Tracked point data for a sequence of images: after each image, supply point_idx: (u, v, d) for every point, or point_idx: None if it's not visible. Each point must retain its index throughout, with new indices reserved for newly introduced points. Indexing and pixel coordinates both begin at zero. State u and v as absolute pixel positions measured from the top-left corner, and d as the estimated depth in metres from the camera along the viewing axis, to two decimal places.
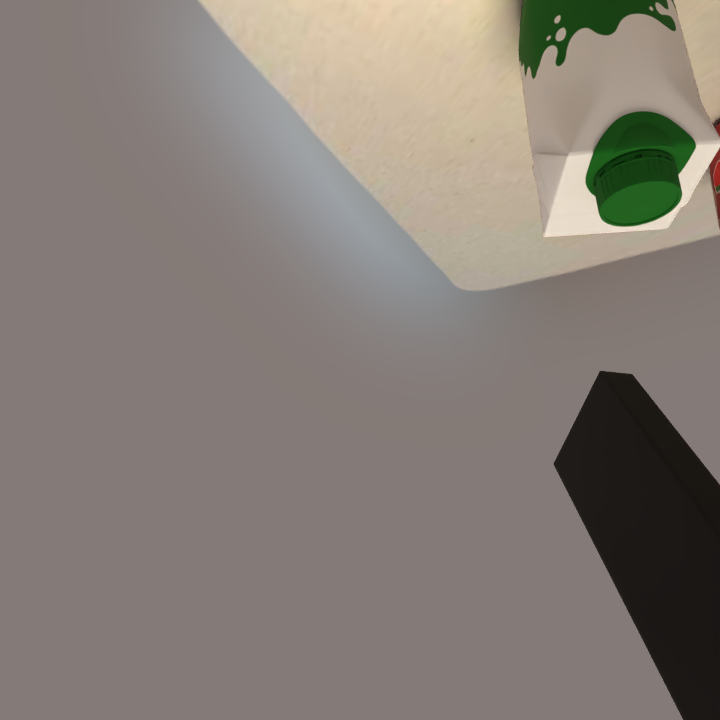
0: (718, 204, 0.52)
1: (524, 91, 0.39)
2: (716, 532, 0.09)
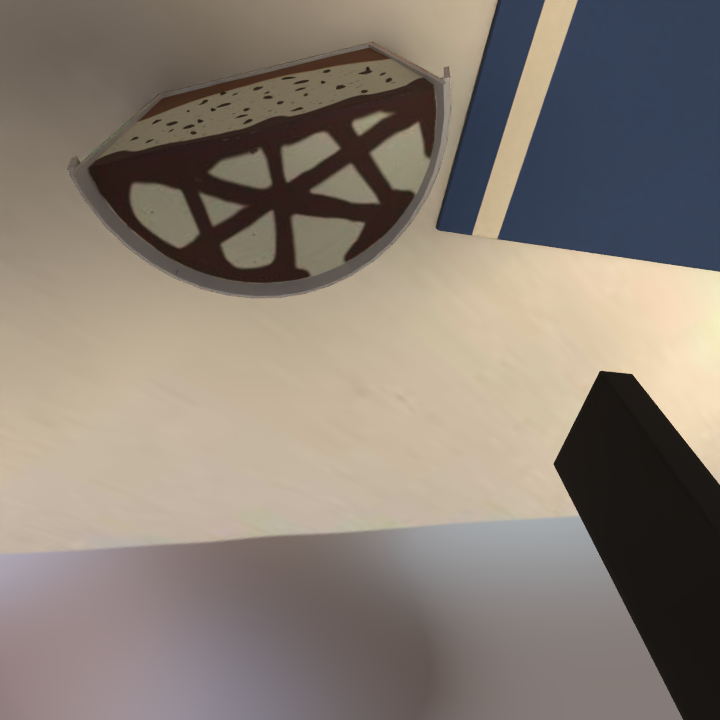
0: None
1: None
2: (716, 532, 0.09)
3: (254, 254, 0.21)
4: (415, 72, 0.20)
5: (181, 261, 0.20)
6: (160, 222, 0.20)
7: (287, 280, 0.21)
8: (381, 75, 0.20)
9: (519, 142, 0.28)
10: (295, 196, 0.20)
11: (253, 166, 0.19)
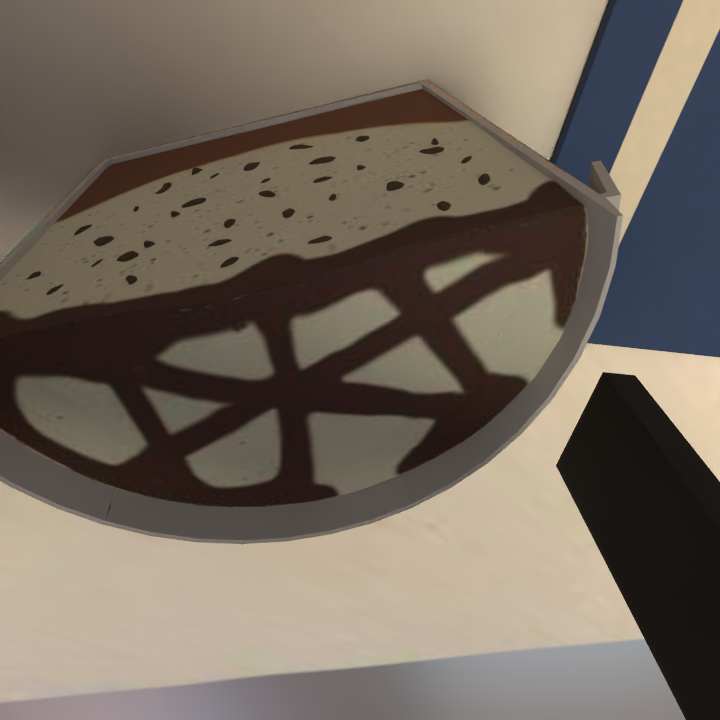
0: None
1: None
2: None
3: (244, 469, 0.12)
4: (531, 163, 0.11)
5: (119, 483, 0.12)
6: (76, 431, 0.11)
7: (300, 501, 0.13)
8: (465, 163, 0.12)
9: None
10: (316, 387, 0.11)
11: (240, 349, 0.10)
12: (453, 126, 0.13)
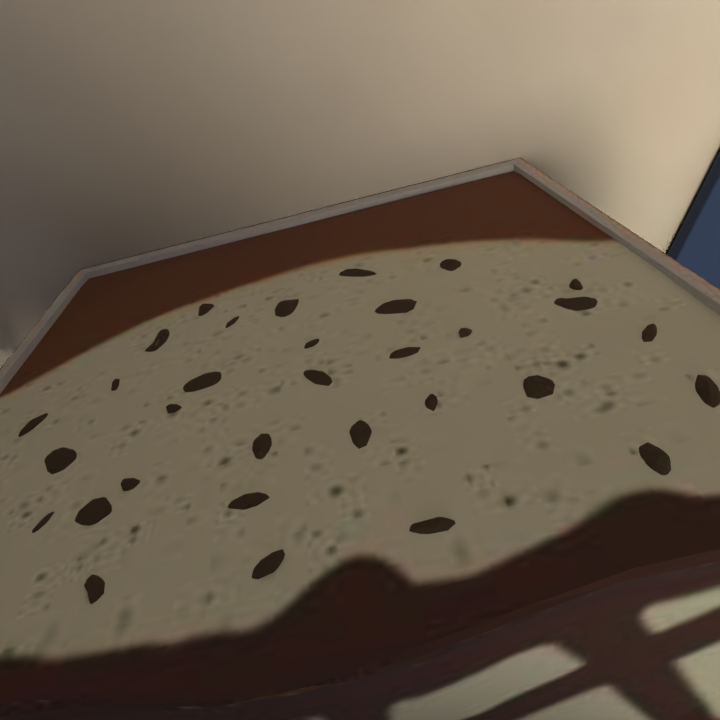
0: None
1: None
2: None
3: None
4: None
5: None
6: None
7: None
8: (652, 342, 0.07)
9: None
10: None
11: None
12: (594, 251, 0.09)
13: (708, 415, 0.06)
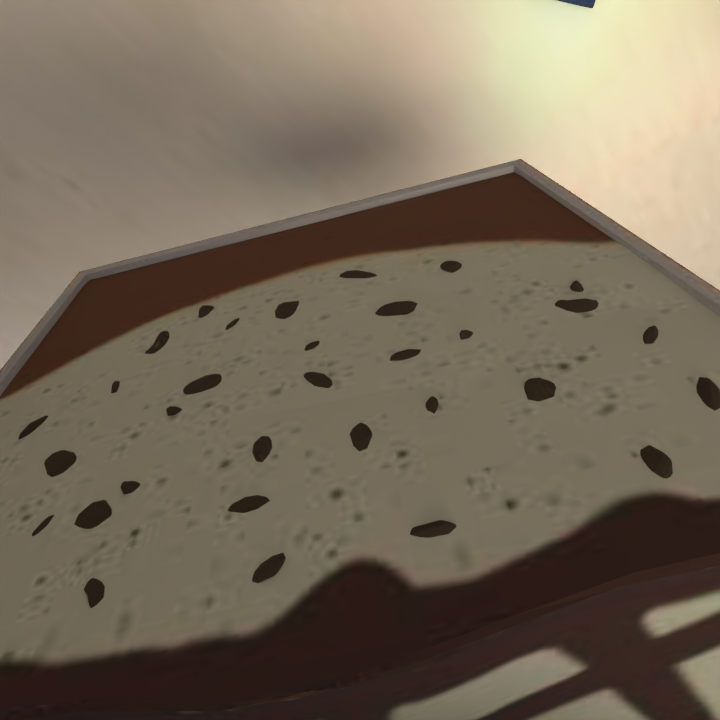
0: None
1: None
2: None
3: None
4: None
5: None
6: None
7: None
8: (653, 344, 0.07)
9: None
10: None
11: None
12: (595, 253, 0.09)
13: (710, 418, 0.06)
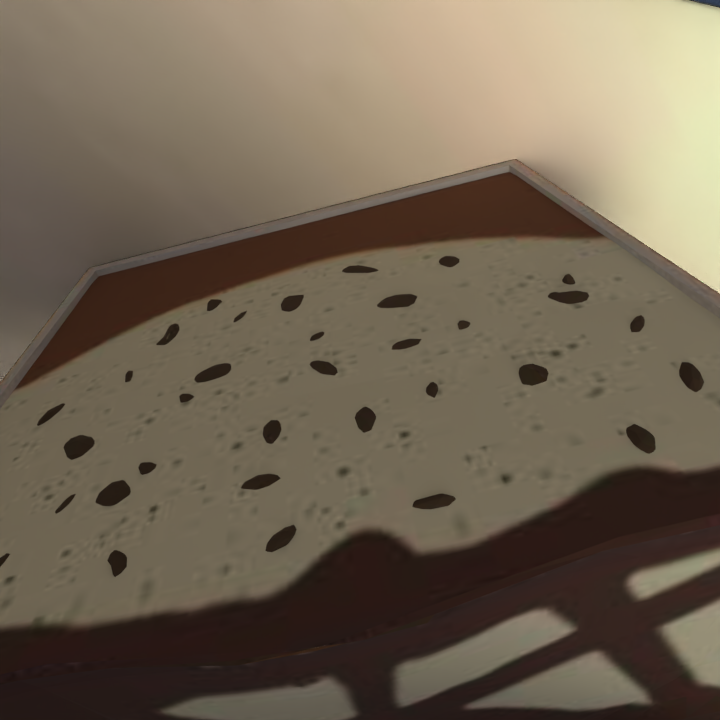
0: None
1: None
2: None
3: None
4: None
5: None
6: None
7: None
8: (639, 333, 0.07)
9: None
10: (421, 718, 0.07)
11: (304, 702, 0.06)
12: (586, 248, 0.09)
13: (691, 399, 0.06)
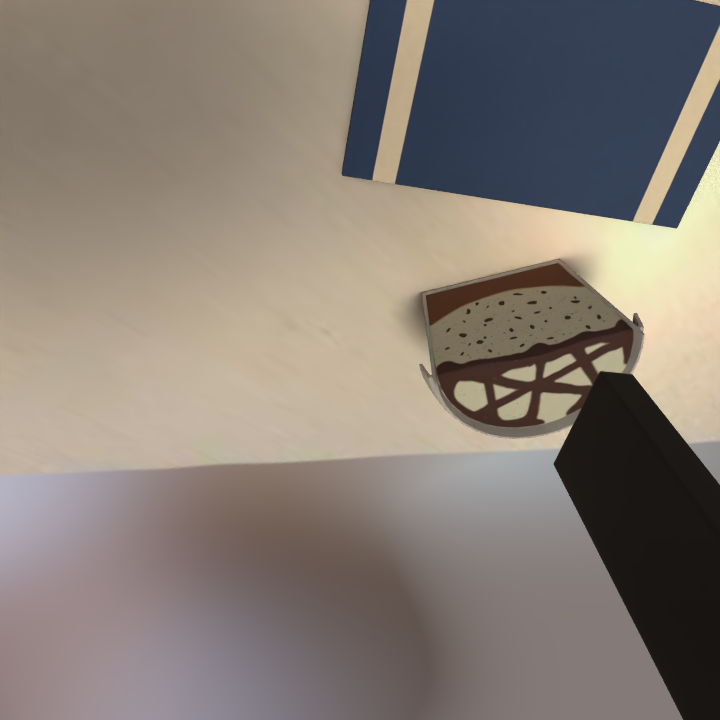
0: None
1: None
2: (715, 532, 0.09)
3: (515, 413, 0.35)
4: (613, 311, 0.34)
5: (474, 418, 0.35)
6: (467, 399, 0.34)
7: (530, 425, 0.36)
8: (590, 309, 0.35)
9: (403, 97, 0.33)
10: (546, 383, 0.34)
11: (528, 372, 0.33)
12: (579, 289, 0.37)
13: (598, 320, 0.34)
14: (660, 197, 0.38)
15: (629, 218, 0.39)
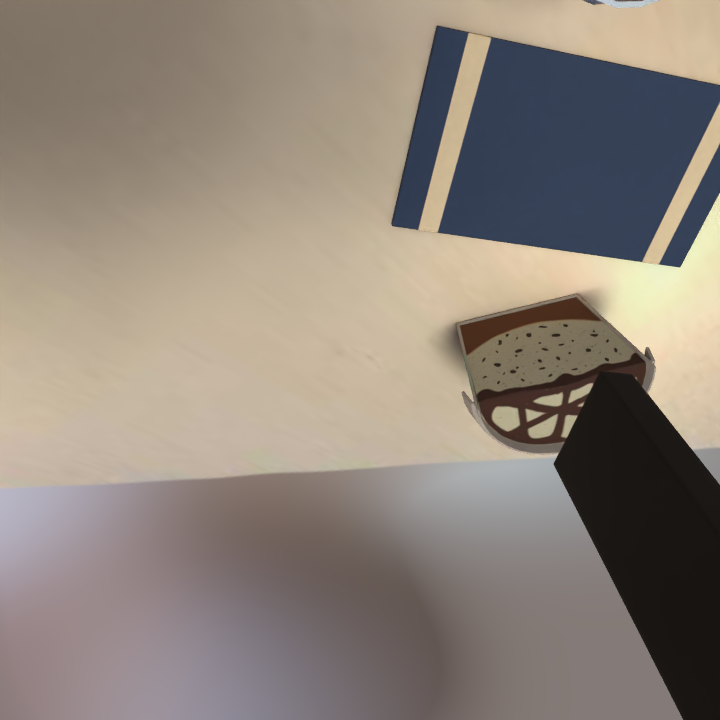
0: None
1: None
2: (716, 532, 0.09)
3: (542, 432, 0.41)
4: (628, 345, 0.40)
5: (507, 437, 0.41)
6: (502, 421, 0.40)
7: (555, 442, 0.41)
8: (607, 342, 0.40)
9: (449, 161, 0.39)
10: (570, 408, 0.40)
11: (556, 398, 0.39)
12: (597, 323, 0.42)
13: (615, 353, 0.39)
14: (666, 241, 0.43)
15: (639, 260, 0.44)
